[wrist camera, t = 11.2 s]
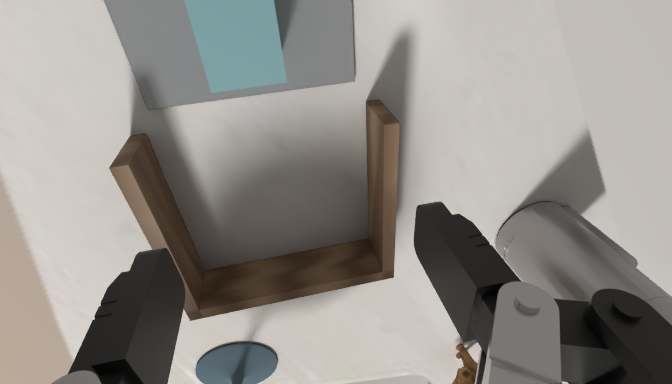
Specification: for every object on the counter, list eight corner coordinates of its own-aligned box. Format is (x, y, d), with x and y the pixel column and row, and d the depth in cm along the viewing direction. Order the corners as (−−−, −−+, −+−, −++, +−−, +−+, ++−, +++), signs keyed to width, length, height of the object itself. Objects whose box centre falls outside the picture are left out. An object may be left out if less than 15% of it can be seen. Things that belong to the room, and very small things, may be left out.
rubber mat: (347, -75, 22) (348, -75, 22) (353, 79, 28) (354, 81, 28) (84, -54, 20) (81, -54, 20) (149, 107, 26) (148, 109, 26)
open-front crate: (379, 99, 30) (399, 122, 26) (379, 244, 40) (393, 277, 36) (130, 136, 27) (109, 167, 23) (196, 280, 37) (190, 320, 33)
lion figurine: (434, 366, 59) (460, 423, 52) (436, 349, 56) (464, 408, 49) (513, 344, 61) (549, 397, 53) (519, 327, 58) (558, 380, 50)
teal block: (267, -20, 23) (271, -14, 18) (280, 58, 26) (287, 82, 21) (197, -13, 22) (183, -4, 17) (218, 66, 25) (211, 92, 20)
